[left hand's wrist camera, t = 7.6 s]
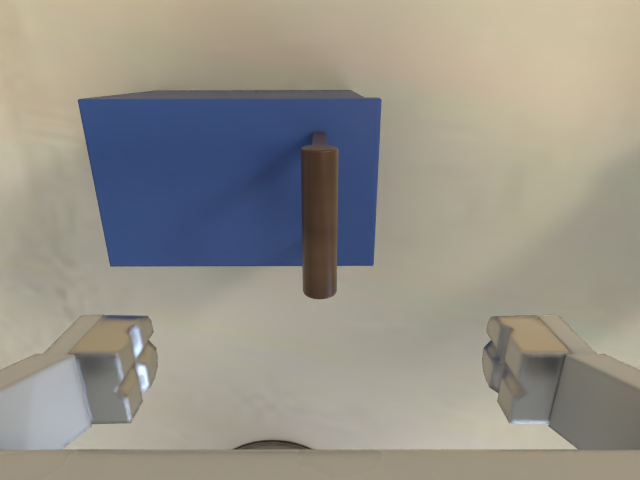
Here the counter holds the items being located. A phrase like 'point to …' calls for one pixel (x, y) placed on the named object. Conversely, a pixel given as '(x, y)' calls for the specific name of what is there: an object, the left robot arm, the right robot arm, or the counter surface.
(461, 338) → the counter surface
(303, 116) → the lid
